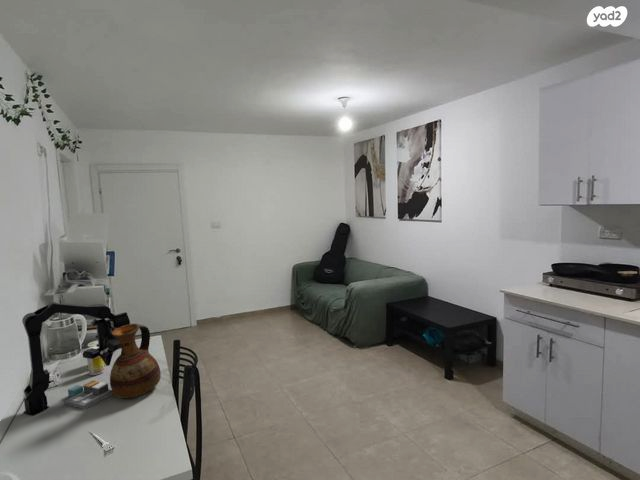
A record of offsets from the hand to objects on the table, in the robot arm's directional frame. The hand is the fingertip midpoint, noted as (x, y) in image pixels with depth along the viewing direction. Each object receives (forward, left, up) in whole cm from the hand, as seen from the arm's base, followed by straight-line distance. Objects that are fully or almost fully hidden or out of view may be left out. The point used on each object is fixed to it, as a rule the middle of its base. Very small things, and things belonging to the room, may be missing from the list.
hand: (108, 365), depth 174 cm
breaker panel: (-12, -2, -9) cm, 15 cm away
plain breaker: (-9, -5, -8) cm, 13 cm away
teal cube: (-11, +7, -10) cm, 16 cm away
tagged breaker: (-9, 0, -8) cm, 12 cm away
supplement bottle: (+8, +19, -10) cm, 23 cm away
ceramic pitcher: (0, -17, -10) cm, 19 cm away
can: (+16, +27, -10) cm, 33 cm away
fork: (-31, -34, -10) cm, 47 cm away
